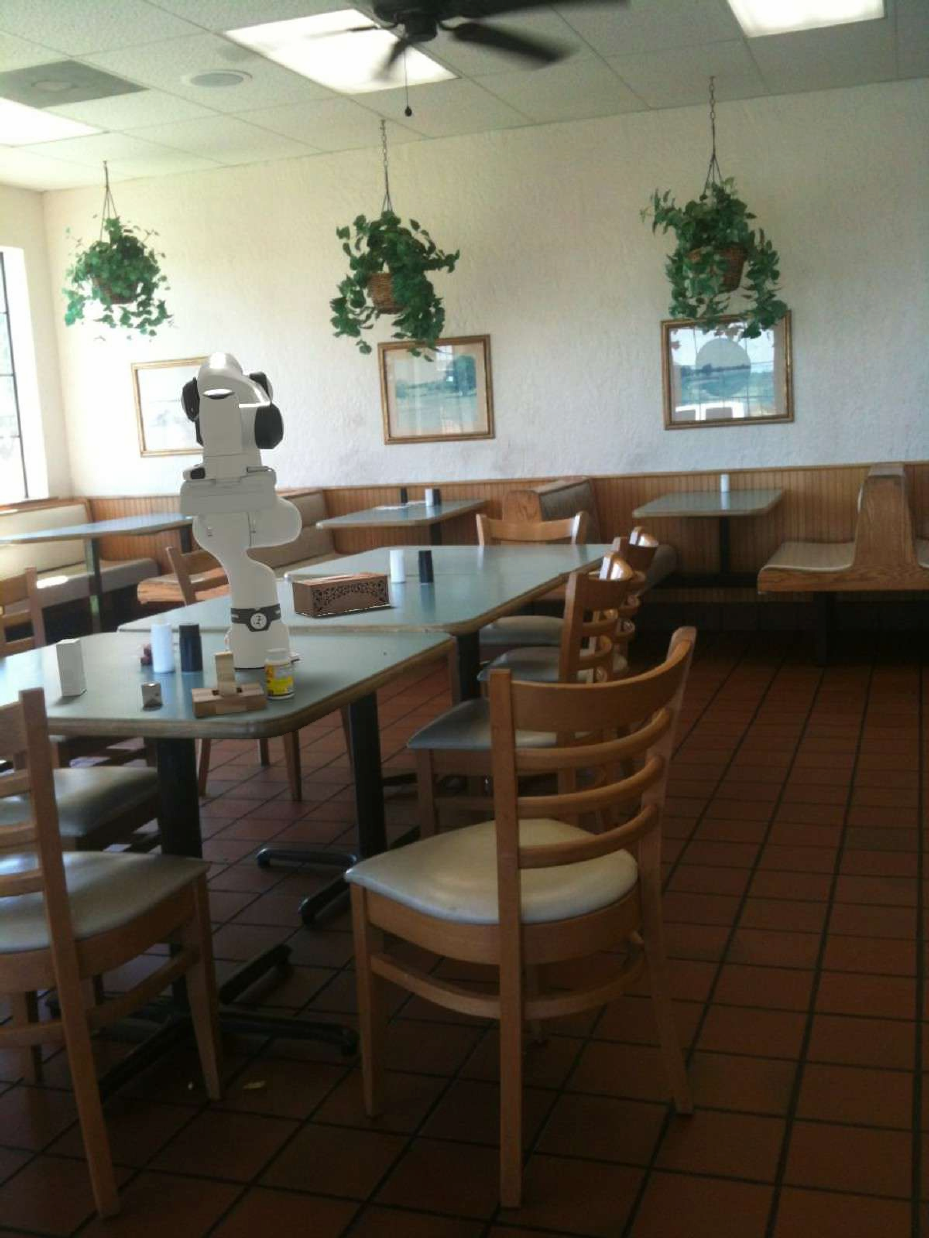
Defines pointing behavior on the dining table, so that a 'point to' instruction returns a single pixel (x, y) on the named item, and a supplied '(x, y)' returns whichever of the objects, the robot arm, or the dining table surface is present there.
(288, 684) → the supplement bottle
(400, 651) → the dining table surface
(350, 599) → the tissue box cover
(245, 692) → the hole plate
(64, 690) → the skincare box
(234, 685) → the long pin
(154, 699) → the short pin
